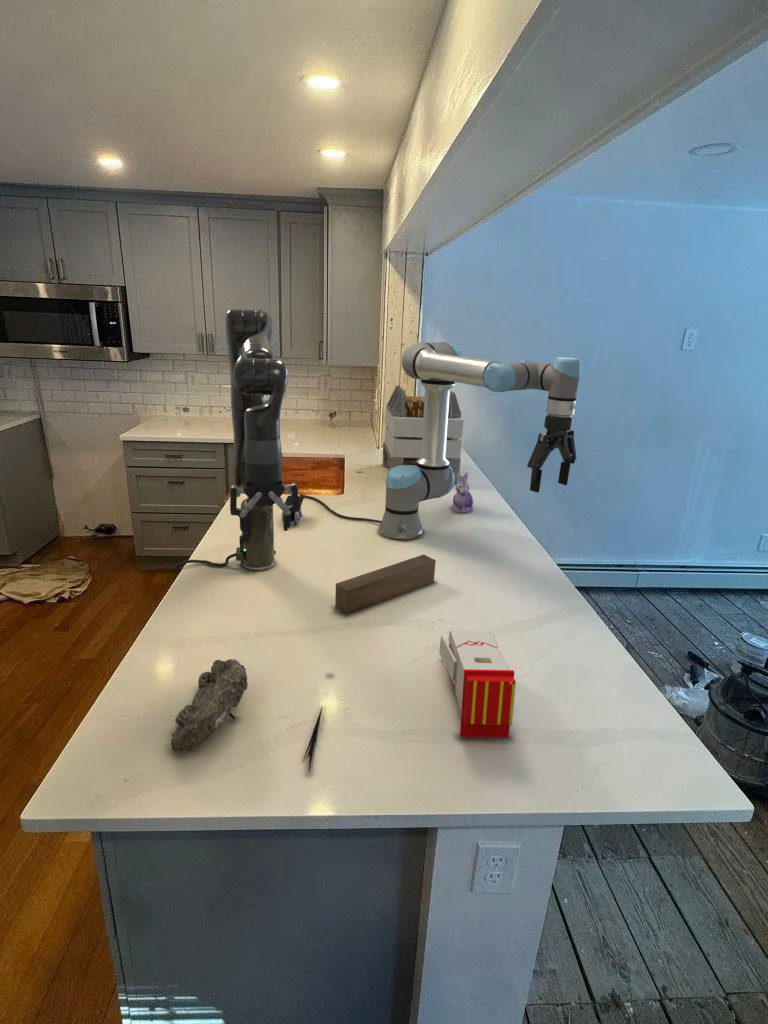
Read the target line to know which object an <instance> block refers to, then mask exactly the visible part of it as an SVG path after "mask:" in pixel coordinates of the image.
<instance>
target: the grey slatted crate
mask: <svg viewBox="0 0 768 1024" xmlns="http://www.w3.org/2000/svg"><path fill="white" fill-rule="evenodd" d="M424 397H425V396H416V395H414V396H413V395H410V396H409V395H407V393H406V390H405V389H404V388H402V387H401V385H399V384H397V385H396V386H395V388H394V389H393V392H392V393H391V395H390V398H389V400H388V402H387V403H386V405H385V413H384V414H385V416H384V424H385V425H384V426H385V427H384V440H383V441H382V442H383V443H382V463H381V464H382V465H383V467H386V468H388V471H389V470H390V469H392V468H394V467H397V466H401V465H404V466H406V465H413V466H416V465H417V460H418V459H419V458H420V457H421V452H422V434H423V415H424ZM463 431H464V419H463V418H462V411H461V408H460V405H459V402H458V398H457V395H456V392H454V391H451V390H450V398H449V412H448V427H447V441H446V455H445V458H446V459H447V460H448V461H449V466H450V467H451V468H452V470H453V471H452V472H453V473H454V476H455V482H454V484H457V483H458V479H457V474H458V473H460V472H461V471H460V470H461V462H462V458H461V452H462V443H463V442H462V438H463ZM460 474H461V473H460Z"/></svg>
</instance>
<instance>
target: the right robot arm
mask: <svg viewBox="0 0 768 1024" xmlns="http://www.w3.org/2000/svg"><path fill="white" fill-rule="evenodd" d="M401 367H402V370H403V371H404V373H405V375H407V376H408V377H409V378H412V379H414V380H420V384H421V385H422V386H423V388H424V396H423V397H424V415H423V434H422V452H421V457H420V458H419V459H418V460H417V465H416V466H413V465H401V466H397V467H394V468H392V469H390V470H389V469H388V472H387V474H386V479H385V504H384V505H385V507H384V508H385V509H384V513H383V515H382V519H381V520H379V519H373V518H366V517H357V516H356V517H355V516H348V515H343V514H340V513H338V512H336V511H335V510H333V509H331V508H330V507H329V506H328V505H327V504H326V503H324V501H322V500H320V499H318V498H316V497H314V496H310V495H307V494H301V493H299V496H302V497H304V498H307V499H310V500H314V501H316V502H318V503H320V504H321V505H322V506H323V507H325V509H326V510H327V511H329V512H330V513H332V514H334V515H335V516H337V517H339V518H342V519H346V520H353V521H365V522H371V523H377V524H379V525H378V533H379V534H380V535H381V536H382V537H385V538H387V539H389V540H395V541H410V540H415V539H418V538H420V537H421V536H422V535H423V525H422V524H421V518H420V515H419V507H420V506H419V505H420V502H423V501H428V500H433V499H440V498H442V497H443V496H446V495H448V494H449V493H450V492H451V491H452V490H453V488H454V485H455V483H454V482H455V476H454V473H453V472H452V471H453V470H452V468H451V467H450V466H449V461H448V460H447V459H446V458H445V455H446V441H447V427H448V412H449V398H450V391H451V389H453V387H454V386H455V385H456V383H458V384H463V385H470V386H476V387H481V388H487V389H488V390H489V391H490V392H493V393H506V392H514V391H524V390H538V391H545V392H548V396H547V402H546V407H545V413H546V414H545V417H544V423H543V427H544V428H545V429H546V433H538V435H537V441H536V444H535V446H534V448H533V451H532V452H531V455H530V458H529V459H528V462H527V465H526V466H527V468H530V469H531V474H530V484H529V485H530V486H529V491H531V492H535V493H536V494H537V493H540V490H541V483H542V482H541V481H542V475H543V469H542V467H543V466H544V464H545V462H546V461H547V459H548V458H549V456H550V454H551V452H553V451H554V450H556V449H558V451H559V454H560V456H561V458H562V461H560V467H559V473H558V480H557V484H560V485H563V486H567V485H568V481H569V476H570V469H571V464H572V465H574V464H575V462H576V460H577V451H576V445H575V430H573V429H572V428H573V422H574V417H573V415H575V409H576V402H577V397H578V390H579V384H580V379H581V372H582V361H581V359H580V358H576V357H567V356H566V357H563V356H556V357H554V359H553V361H552V363H547V362H540V361H534V360H519V361H518V362H505V361H497V360H490V359H483V358H475V357H468V356H463V353H462V351H461V350H460V348H459V347H458V346H457V345H456V344H454V343H451V342H445V341H441V342H440V341H439V342H438V341H436V342H415V343H413V344H410V345H409V346H408V347H406V349H405V350H404V351H403V354H402V357H401Z"/></svg>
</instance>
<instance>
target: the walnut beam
mask: <svg viewBox="0 0 768 1024" xmlns="http://www.w3.org/2000/svg"><path fill="white" fill-rule="evenodd" d="M436 562H437V560H436V559H435V558H433V557H431V556H429V555H426V554H420V555H418V556H415V557H412V558H409V559H406V560H403V561H400V562H397V563H394V564H391V565H388V566H384V567H381V568H379V569H376V570H373V571H370V572H366V573H363V574H360V575H357V576H355V577H351V578H348V579H345V580H342V581H340V582H336V583H335V602H334V603H335V605H334V607H335V609H337V610H338V611H340V612H341V613H343V614H344V615H345V616H348V615H350V614H353V613H356V612H359V611H362V610H364V609H366V608H369V607H372V606H374V605H376V604H379V603H382V602H384V601H387V600H390V599H393V598H396V597H398V596H400V595H403V594H405V593H408V592H411V591H413V590H417V589H419V588H421V587H424V586H427V585H429V584H432V583H434V582H435V573H436Z"/></svg>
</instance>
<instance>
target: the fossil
mask: <svg viewBox="0 0 768 1024" xmlns="http://www.w3.org/2000/svg"><path fill="white" fill-rule="evenodd" d="M197 683H198V684H197V687H198V690H197V691H196V693H195V694H194V697H193V698H192V701H191V704H187V705H185V706H184V707H183V708H182V709H181V710H179V712H178V713H177V715H176V717H175V719H174V721H175V723H176V725H177V726H176V728H175V730H174V731H173V732H172V733H171V735H170V736H171V738H170V747H171V750H172V751H176V752H178V753H186V752H190V751H193V752H195V751H197V750H198V749H199V748H200V747H201V746H202V745H203V744H204V743H205V742H207V741H208V740H209V739H210V737H211V736H212V735H213V734H215V733H216V731H218V730H219V729H220V728H221V726H222V725H223V723H224V721H225V720H226V719H227V718H228V717H230V718H232V720H235V719H236V716H235V715H234V714H233V713H232V710H233V709H235V708H237V706H238V705H239V704H240V702H241V700H242V698H243V696H244V693H245V691H246V690H247V689H248V686H249V685H248V675H247V669H246V668H245V666H244V665H243V664H241V663H240V661H238V660H237V659H236V658H234V659H232V658H230V659H226V660H221V659H216V660H214V661H213V662H212V665H211V667H210V671H208V670H207V671H205V672H201V674H200V675H199V676H198V681H197Z"/></svg>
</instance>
